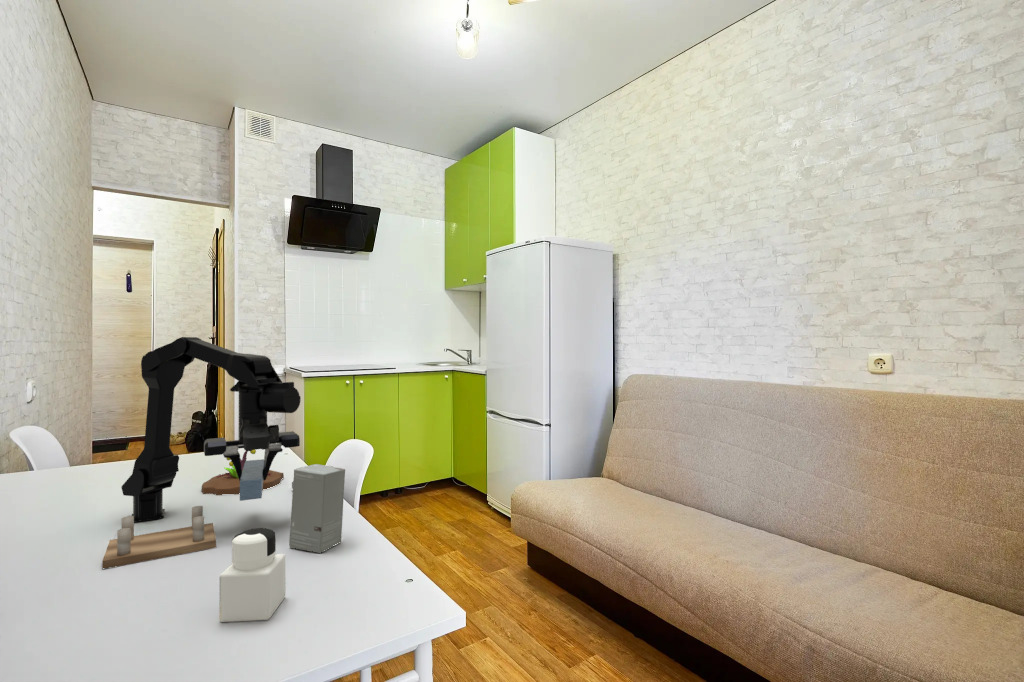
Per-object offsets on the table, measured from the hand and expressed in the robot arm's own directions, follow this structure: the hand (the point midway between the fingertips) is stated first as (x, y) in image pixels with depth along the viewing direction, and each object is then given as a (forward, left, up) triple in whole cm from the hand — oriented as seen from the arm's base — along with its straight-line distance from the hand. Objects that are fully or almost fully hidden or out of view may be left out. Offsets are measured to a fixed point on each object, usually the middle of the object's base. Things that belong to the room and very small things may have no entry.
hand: (252, 481), depth 113 cm
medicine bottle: (+39, -4, -11) cm, 41 cm away
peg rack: (+2, -17, -10) cm, 20 cm away
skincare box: (+18, +10, -11) cm, 23 cm away
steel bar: (0, 0, -1) cm, 1 cm away
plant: (-41, +2, -11) cm, 42 cm away
